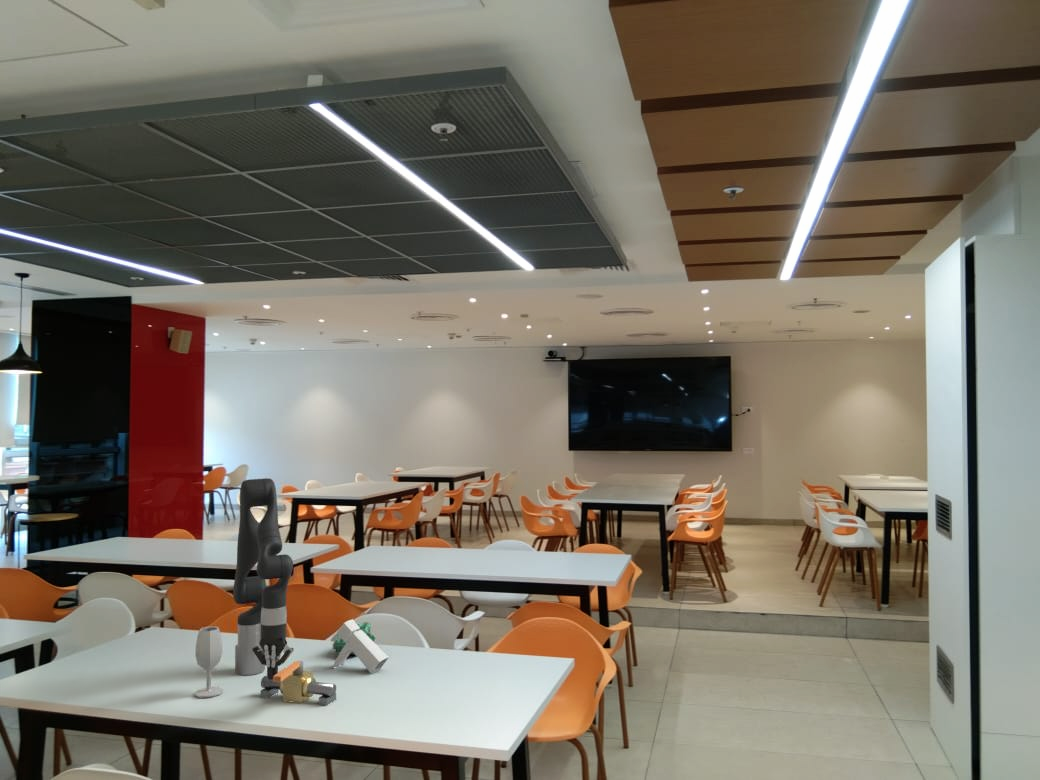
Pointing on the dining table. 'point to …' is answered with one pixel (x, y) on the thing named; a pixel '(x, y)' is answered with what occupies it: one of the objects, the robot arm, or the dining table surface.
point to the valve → (299, 688)
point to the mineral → (341, 643)
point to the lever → (289, 671)
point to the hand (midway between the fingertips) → (272, 678)
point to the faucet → (359, 647)
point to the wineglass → (208, 657)
